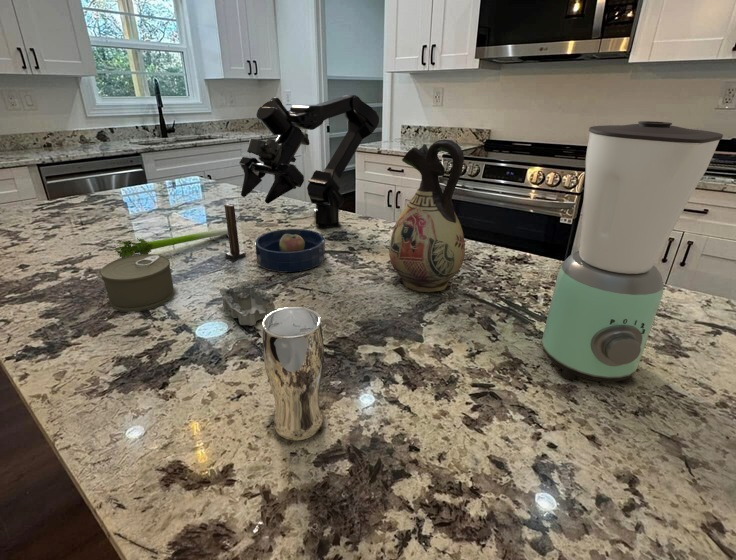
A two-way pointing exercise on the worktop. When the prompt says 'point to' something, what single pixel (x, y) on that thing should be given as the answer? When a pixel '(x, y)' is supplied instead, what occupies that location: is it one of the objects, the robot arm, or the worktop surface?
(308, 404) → the beer glass
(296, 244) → the apple
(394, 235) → the ceramic jug
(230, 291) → the egg carton
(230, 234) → the dark brown piece
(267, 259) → the bowl
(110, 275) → the can
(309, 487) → the worktop surface
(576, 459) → the worktop surface
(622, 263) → the blender
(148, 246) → the celery stalk
